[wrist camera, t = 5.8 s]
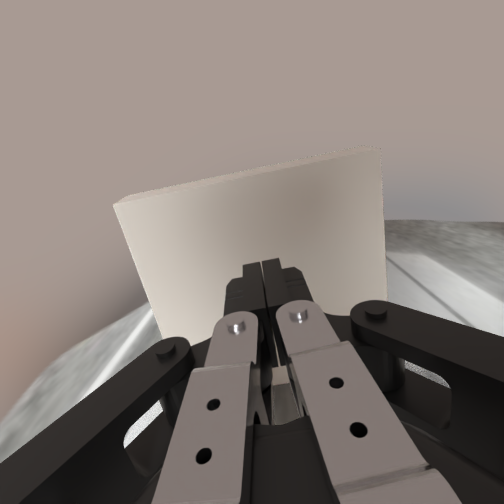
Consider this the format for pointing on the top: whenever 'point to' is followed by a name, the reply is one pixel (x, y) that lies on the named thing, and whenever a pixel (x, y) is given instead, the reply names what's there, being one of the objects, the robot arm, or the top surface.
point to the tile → (260, 237)
